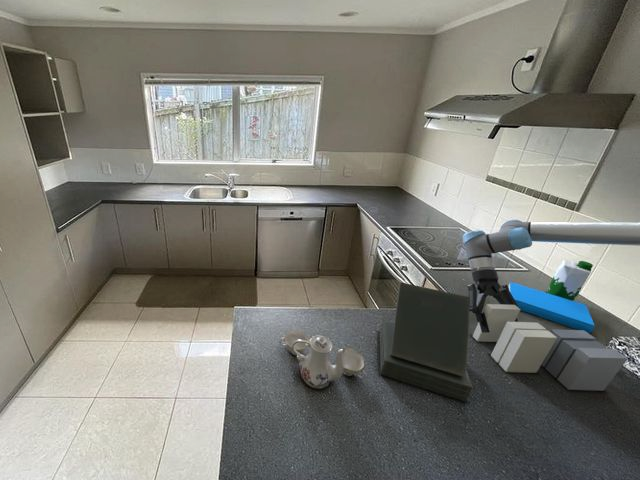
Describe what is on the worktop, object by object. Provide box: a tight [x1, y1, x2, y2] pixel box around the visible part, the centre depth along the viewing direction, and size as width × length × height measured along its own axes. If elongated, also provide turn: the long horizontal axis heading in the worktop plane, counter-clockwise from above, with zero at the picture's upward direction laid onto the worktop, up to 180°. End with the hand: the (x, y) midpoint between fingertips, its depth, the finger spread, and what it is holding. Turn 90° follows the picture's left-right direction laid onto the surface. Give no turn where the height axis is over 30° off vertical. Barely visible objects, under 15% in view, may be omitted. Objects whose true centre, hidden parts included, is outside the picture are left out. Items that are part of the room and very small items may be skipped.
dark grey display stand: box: [378, 281, 473, 402], centre depth 88 cm, size 23×20×25 cm
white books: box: [490, 321, 557, 374], centre depth 91 cm, size 6×10×15 cm, turn 90°
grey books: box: [541, 328, 629, 392], centre depth 88 cm, size 12×11×14 cm
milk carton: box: [547, 259, 594, 301], centre depth 124 cm, size 9×9×20 cm
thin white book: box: [472, 303, 522, 343], centre depth 101 cm, size 2×10×15 cm, turn 90°
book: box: [508, 281, 595, 335], centre depth 120 cm, size 17×4×25 cm
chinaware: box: [279, 329, 367, 390], centre depth 86 cm, size 28×17×17 cm, turn 70°
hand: (500, 332), depth 98 cm, fingers closed on thin white book, 10 cm apart
